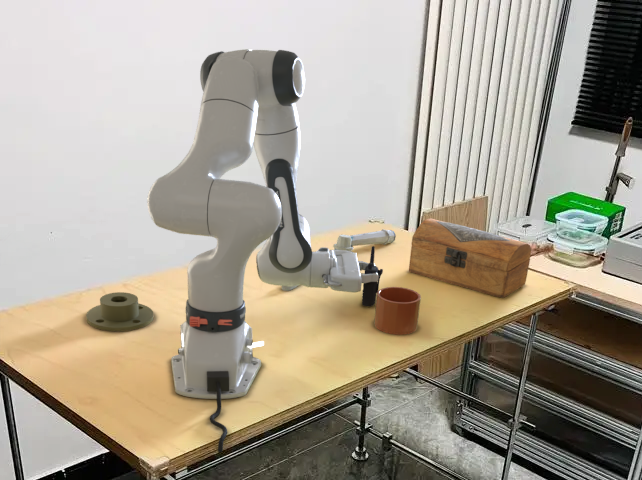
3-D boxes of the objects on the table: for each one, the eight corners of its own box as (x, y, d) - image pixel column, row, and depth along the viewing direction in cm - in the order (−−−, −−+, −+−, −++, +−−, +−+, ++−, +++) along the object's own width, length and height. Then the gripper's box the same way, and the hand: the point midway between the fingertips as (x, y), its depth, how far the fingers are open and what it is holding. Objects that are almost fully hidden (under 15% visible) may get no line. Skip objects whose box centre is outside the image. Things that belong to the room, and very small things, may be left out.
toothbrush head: (398, 231, 249) (345, 235, 230) (394, 252, 251) (341, 258, 233) (385, 227, 252) (332, 230, 233) (381, 248, 254) (328, 253, 236)
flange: (113, 317, 176) (166, 299, 187) (71, 298, 184) (124, 282, 194) (115, 337, 178) (166, 318, 189) (73, 317, 186) (125, 300, 197)
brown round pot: (419, 335, 191) (423, 304, 187) (376, 333, 190) (379, 302, 186) (414, 318, 200) (417, 287, 196) (372, 316, 199) (375, 285, 195)
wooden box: (405, 272, 229) (410, 224, 222) (434, 258, 241) (439, 213, 234) (500, 301, 214) (509, 251, 208) (526, 285, 227) (535, 237, 220)
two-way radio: (363, 299, 209) (368, 243, 201) (380, 301, 208) (386, 245, 201) (360, 307, 204) (365, 250, 196) (377, 309, 203) (383, 252, 196)
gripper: (324, 272, 190) (382, 275, 191) (321, 244, 208) (374, 247, 209) (322, 297, 193) (379, 300, 194) (320, 268, 211) (372, 270, 212)
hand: (377, 272), depth 202 cm, fingers closed on two-way radio, 5 cm apart
